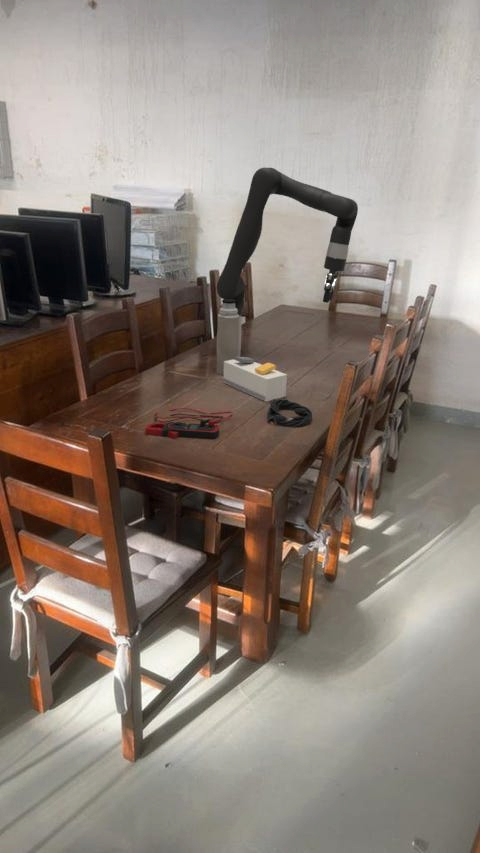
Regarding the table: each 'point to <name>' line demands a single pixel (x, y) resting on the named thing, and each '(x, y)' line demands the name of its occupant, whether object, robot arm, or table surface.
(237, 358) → the flat grey slab box
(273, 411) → the cable
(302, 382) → the table surface
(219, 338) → the thermos bottle
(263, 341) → the table surface
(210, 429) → the digital clamp meter
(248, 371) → the switch box
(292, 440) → the table surface
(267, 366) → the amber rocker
